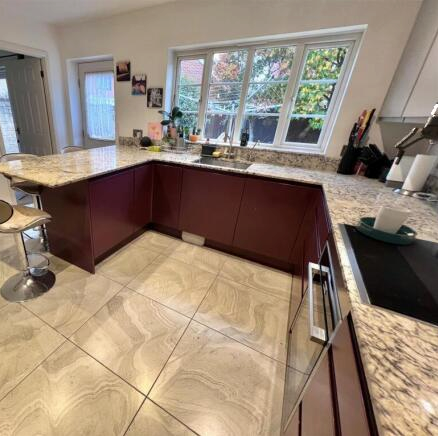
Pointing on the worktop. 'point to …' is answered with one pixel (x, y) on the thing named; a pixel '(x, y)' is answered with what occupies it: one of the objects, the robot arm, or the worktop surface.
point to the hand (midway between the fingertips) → (416, 166)
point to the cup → (391, 218)
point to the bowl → (400, 237)
